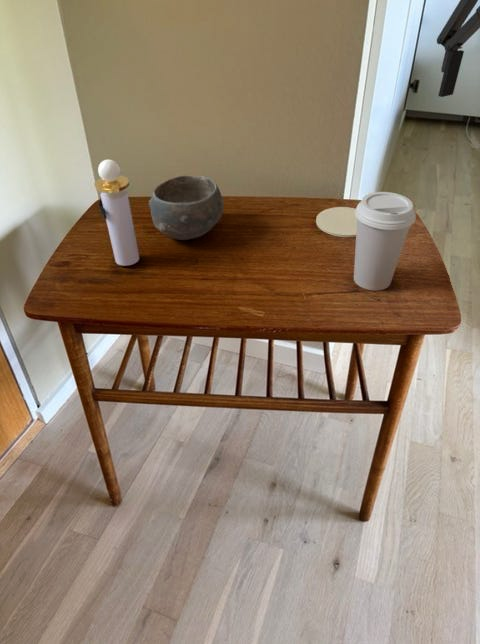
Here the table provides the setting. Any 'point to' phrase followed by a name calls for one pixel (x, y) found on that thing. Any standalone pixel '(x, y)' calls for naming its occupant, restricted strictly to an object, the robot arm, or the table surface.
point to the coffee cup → (380, 237)
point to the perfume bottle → (117, 212)
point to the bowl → (186, 206)
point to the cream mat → (338, 221)
